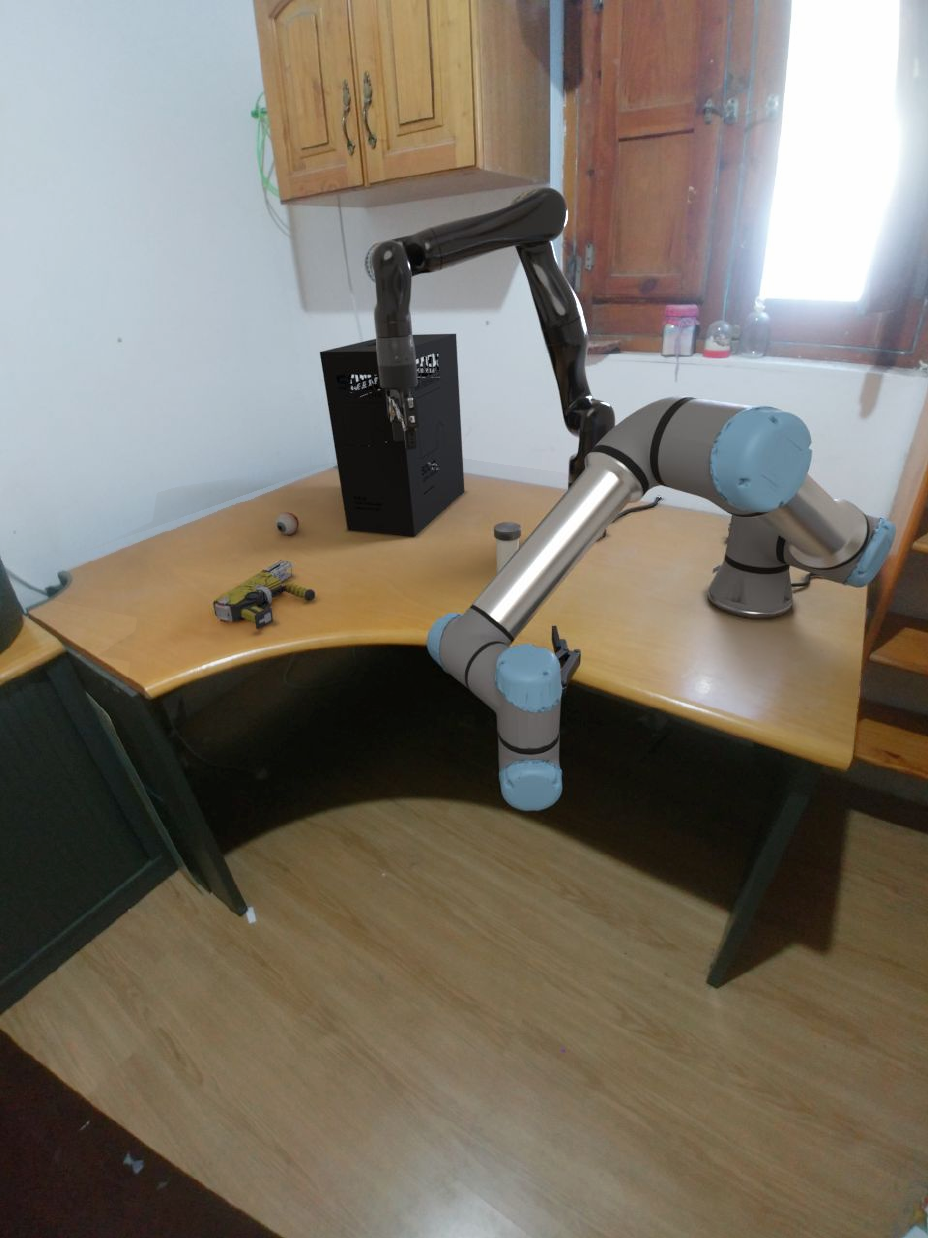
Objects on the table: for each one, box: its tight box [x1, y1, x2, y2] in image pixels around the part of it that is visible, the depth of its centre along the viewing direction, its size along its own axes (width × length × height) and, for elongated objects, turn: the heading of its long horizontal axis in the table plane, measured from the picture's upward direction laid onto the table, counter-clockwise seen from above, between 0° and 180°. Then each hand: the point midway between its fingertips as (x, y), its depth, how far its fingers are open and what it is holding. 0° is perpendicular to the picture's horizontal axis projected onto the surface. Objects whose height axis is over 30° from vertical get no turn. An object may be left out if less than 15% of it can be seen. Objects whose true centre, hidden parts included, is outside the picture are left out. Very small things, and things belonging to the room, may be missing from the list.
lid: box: [493, 521, 522, 541], centre depth 114 cm, size 5×5×2 cm
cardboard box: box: [319, 333, 465, 537], centre depth 166 cm, size 38×20×45 cm, turn 159°
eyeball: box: [275, 511, 300, 536], centre depth 163 cm, size 6×6×6 cm
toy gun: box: [212, 559, 316, 630], centre depth 129 cm, size 5×24×15 cm
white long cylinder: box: [495, 537, 520, 575], centre depth 118 cm, size 4×4×18 cm
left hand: (405, 444), depth 126 cm, fingers open, 8 cm apart
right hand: (514, 633), depth 103 cm, fingers open, 13 cm apart
